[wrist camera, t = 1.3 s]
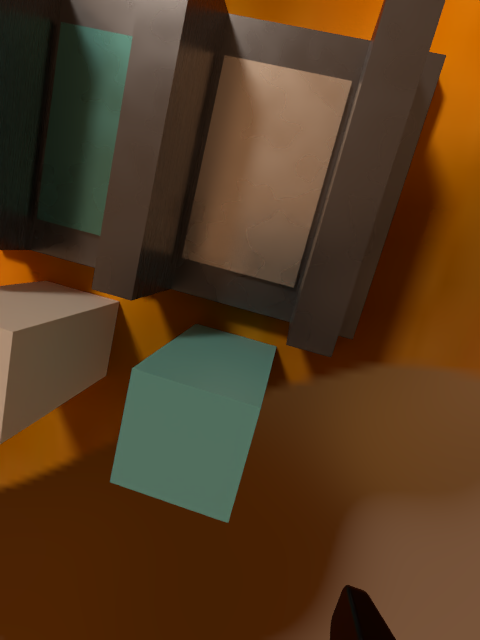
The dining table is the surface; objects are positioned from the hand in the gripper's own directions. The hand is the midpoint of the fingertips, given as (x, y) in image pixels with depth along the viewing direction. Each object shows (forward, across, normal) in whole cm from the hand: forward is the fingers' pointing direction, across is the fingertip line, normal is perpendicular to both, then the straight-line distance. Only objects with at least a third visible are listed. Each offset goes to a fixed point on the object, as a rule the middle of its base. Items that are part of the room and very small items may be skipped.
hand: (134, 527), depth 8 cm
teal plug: (+10, 0, 0) cm, 11 cm away
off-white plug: (+10, +8, 0) cm, 13 cm away
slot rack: (+10, +4, -9) cm, 14 cm away
